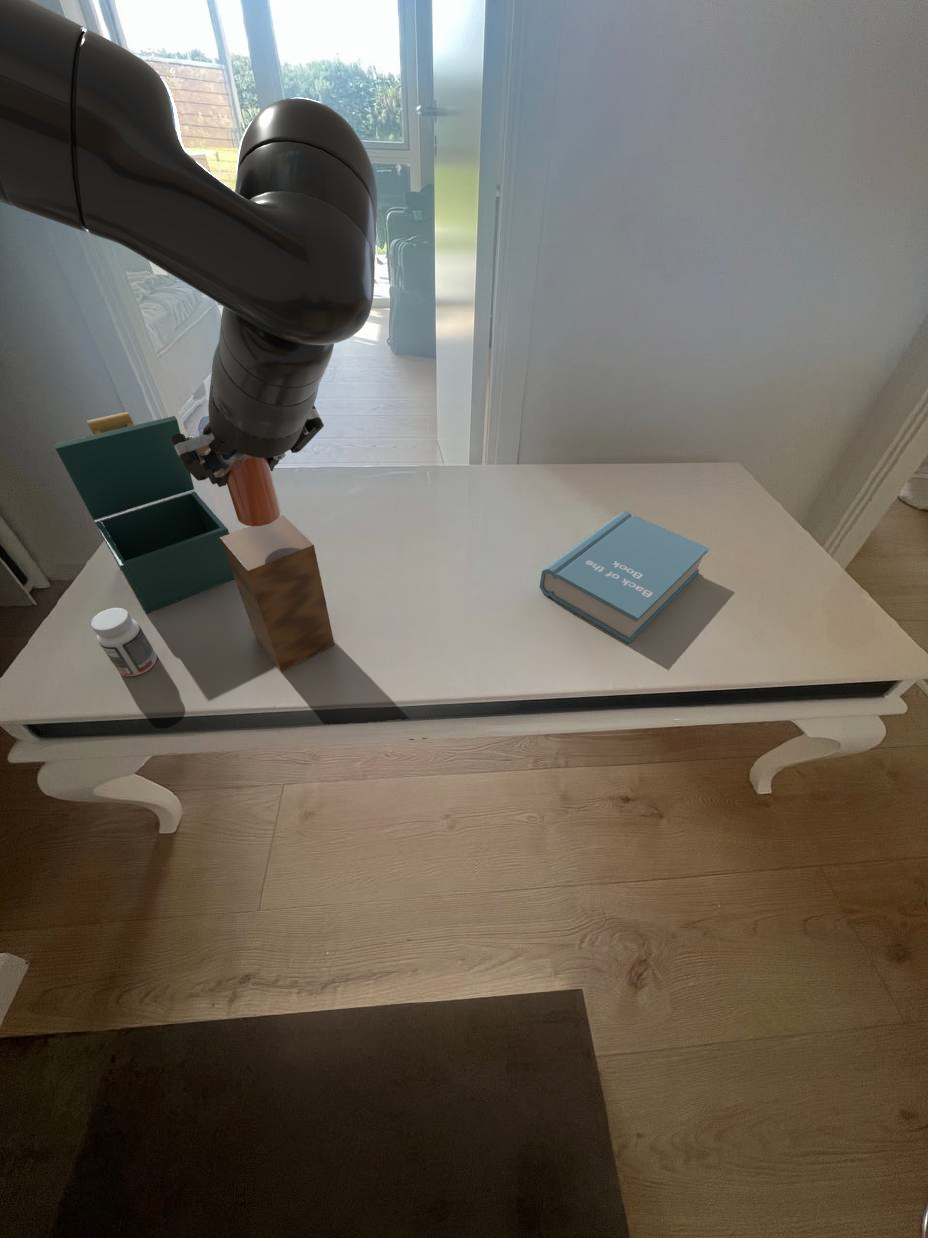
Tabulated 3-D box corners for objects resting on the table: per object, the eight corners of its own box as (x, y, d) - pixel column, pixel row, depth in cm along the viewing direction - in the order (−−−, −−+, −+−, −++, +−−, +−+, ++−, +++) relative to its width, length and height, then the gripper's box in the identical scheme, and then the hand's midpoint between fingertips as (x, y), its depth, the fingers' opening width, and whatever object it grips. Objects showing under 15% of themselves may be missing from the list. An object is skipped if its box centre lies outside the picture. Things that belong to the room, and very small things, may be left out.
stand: (280, 672, 69) (247, 571, 57) (255, 637, 73) (219, 537, 61) (334, 644, 72) (314, 544, 61) (307, 613, 77) (283, 514, 65)
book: (628, 643, 74) (638, 618, 71) (538, 591, 82) (542, 566, 78) (698, 572, 87) (709, 548, 83) (614, 532, 94) (620, 508, 91)
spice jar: (248, 531, 56) (227, 462, 50) (231, 512, 59) (209, 444, 53) (287, 517, 58) (271, 449, 53) (269, 499, 61) (252, 433, 55)
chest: (243, 575, 83) (227, 528, 76) (145, 614, 76) (120, 566, 70) (211, 535, 90) (194, 490, 84) (119, 567, 83) (93, 520, 77)
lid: (177, 419, 71) (160, 393, 72) (55, 448, 64) (38, 419, 65) (194, 489, 83) (179, 466, 85) (93, 520, 76) (79, 494, 78)
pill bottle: (156, 646, 71) (131, 600, 65) (158, 670, 68) (132, 624, 62) (117, 656, 70) (87, 611, 64) (118, 682, 67) (87, 636, 61)
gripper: (322, 331, 44) (286, 422, 59) (144, 363, 38) (154, 456, 52) (362, 414, 45) (317, 483, 60) (194, 460, 38) (190, 525, 53)
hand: (241, 470), depth 56 cm, fingers closed on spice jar, 4 cm apart
